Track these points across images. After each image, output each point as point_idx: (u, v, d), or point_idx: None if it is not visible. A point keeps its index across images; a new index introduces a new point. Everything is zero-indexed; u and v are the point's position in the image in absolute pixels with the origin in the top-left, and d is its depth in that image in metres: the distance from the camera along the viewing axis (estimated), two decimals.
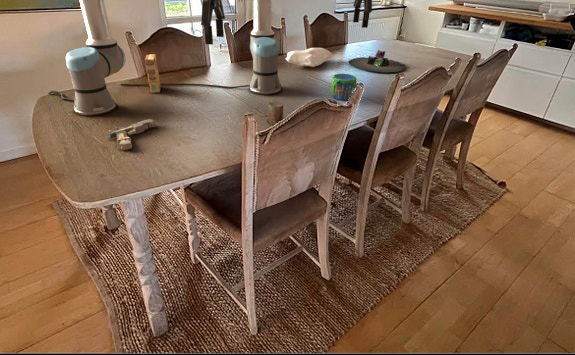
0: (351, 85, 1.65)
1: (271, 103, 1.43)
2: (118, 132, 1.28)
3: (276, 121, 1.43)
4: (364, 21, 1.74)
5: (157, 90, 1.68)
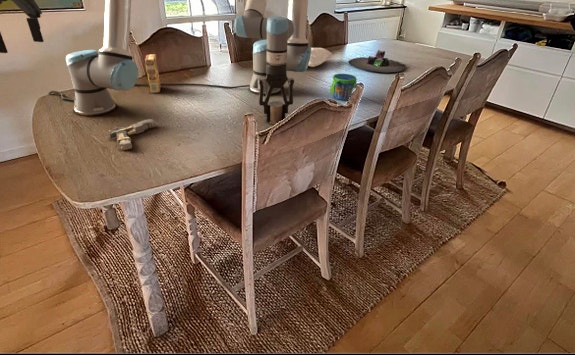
0: (351, 85, 1.65)
1: (271, 103, 1.43)
2: (118, 132, 1.28)
3: (276, 121, 1.43)
4: (266, 114, 1.45)
5: (157, 90, 1.68)
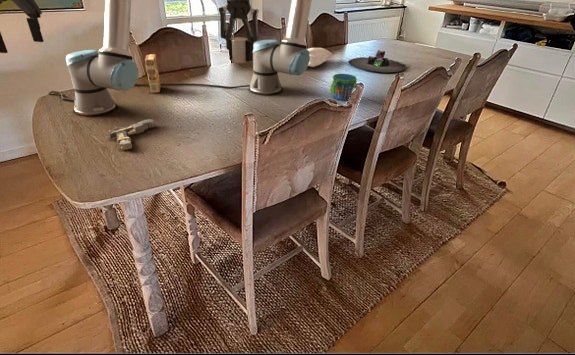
0: (351, 85, 1.65)
1: (235, 38, 1.29)
2: (118, 132, 1.28)
3: (237, 58, 1.29)
4: None
5: (157, 90, 1.68)
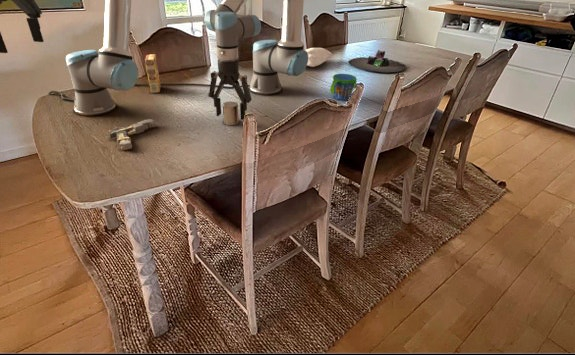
0: (351, 85, 1.65)
1: (227, 102, 1.41)
2: (118, 132, 1.28)
3: (227, 121, 1.42)
4: None
5: (157, 90, 1.68)
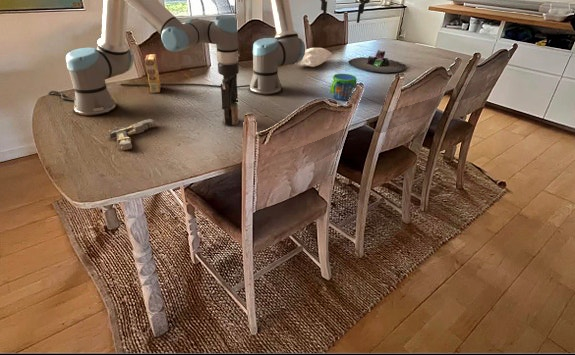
0: (351, 85, 1.65)
1: None
2: (118, 132, 1.28)
3: None
4: None
5: (157, 90, 1.68)
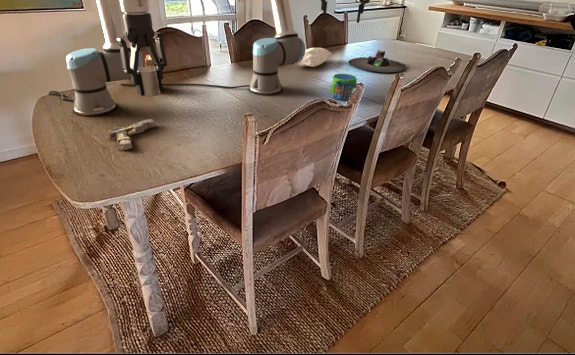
0: (351, 85, 1.65)
1: (146, 67, 1.12)
2: (118, 132, 1.28)
3: None
4: None
5: None
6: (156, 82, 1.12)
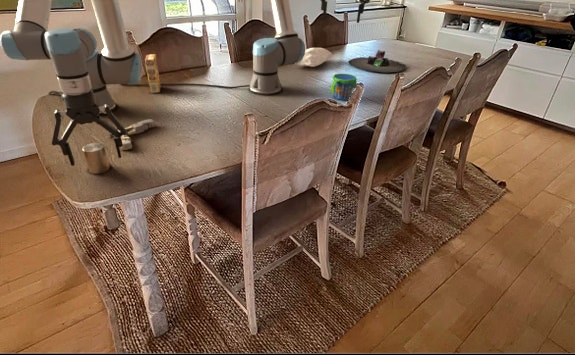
0: (351, 85, 1.65)
1: (96, 144, 1.09)
2: None
3: None
4: None
5: (157, 90, 1.68)
6: (101, 160, 1.08)
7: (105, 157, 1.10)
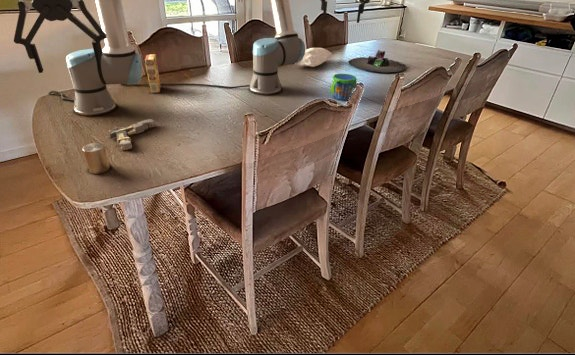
0: (351, 85, 1.65)
1: (96, 144, 1.09)
2: (118, 132, 1.28)
3: None
4: None
5: (157, 90, 1.68)
6: (101, 160, 1.08)
7: (105, 157, 1.10)
